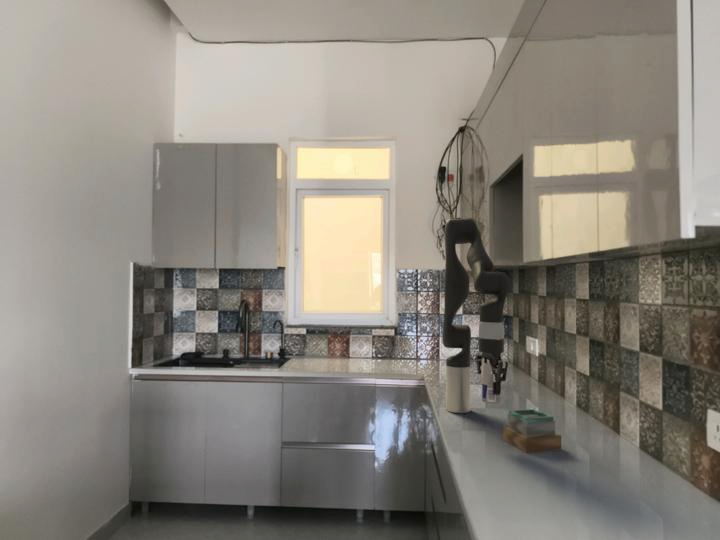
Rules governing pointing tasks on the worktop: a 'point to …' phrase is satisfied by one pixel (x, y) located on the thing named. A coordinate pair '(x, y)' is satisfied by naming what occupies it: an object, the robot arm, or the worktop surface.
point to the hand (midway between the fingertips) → (491, 391)
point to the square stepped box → (531, 431)
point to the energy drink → (488, 385)
